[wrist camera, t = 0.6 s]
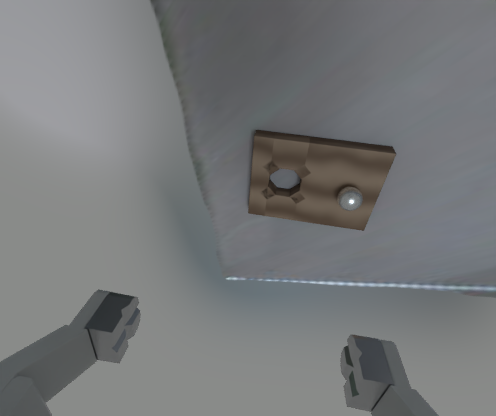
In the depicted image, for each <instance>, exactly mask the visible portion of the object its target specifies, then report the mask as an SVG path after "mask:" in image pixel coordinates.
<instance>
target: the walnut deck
mask: <svg viewBox="0 0 496 416" xmlns="http://www.w3.org/2000/svg"><path fill="white" fill-rule="evenodd" d="M395 156H396V153H395V151H394V149H393V147H390V146H382V145H374V144H366V143H358V142H350V141H342V140H334V139H326V138H318V137H309V136H301V135H293V134H285V133H277V132H269V131H261V130H256V133H255V135H254V146H253V159H252V172H251V184H250V197H249V210H248V213H250V214H256V215H263V216H270V217H276V218H283V219H290V220H296V221H303V222H309V223H316V224H323V225H329V226H336V227H343V228H349V229H356V230H362V231H364V229H365V227H366V224H367V222H368V219H369V217H370V215H371V212H372V210H373V208H374V205H375V203H376V201H377V198H378V196H379V193H380V191H381V189H382V186H383V184H384V182H385V179H386V177H387V175H388V172H389V170H390V168H391V165H392V163H393V160H394V158H395ZM280 168H281V169H289V170H294V171H295V172H296V173H297V175H298V176H299V177H300V178H301V180H300V184H298V185H296V186H294V187H293V188H291V189H284V188H277V187H276V186H275V184H274V183H273V182H272V181H271V180H270V175H271V174H272V173H274V172H275V171H277V170H278V169H280ZM346 187H355V188H357V189H358V190H359V191H360V192H361V193H362V196H363V201H362V204H361V205H360V207H359V208H357V209H356V210H353V211H347V210H344V209H342V208H341V207H340V206H339V204H338V201H337V197H338V194H339V192H340V191H341V190H342V189H344V188H346Z"/></svg>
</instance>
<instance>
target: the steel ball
mask: <svg viewBox="0 0 496 416" xmlns="http://www.w3.org/2000/svg"><path fill="white" fill-rule="evenodd" d="M337 201H338V204H339V206H340V207H341V208H342V209H344V210H347V211H353V210H356V209H357V208H359V207H360V205H361V204H362V201H363V196H362V193H361V192H360V191H359V190H358V189H357V188H355V187H346V188H344V189H342V190H341V191H340V192H339V194H338V197H337Z"/></svg>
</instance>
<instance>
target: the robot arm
mask: <svg viewBox="0 0 496 416" xmlns="http://www.w3.org/2000/svg"><path fill="white" fill-rule="evenodd" d="M138 303H139V302H138V298H137V297H134V296H129V295H123V294H118V293H113V292H109V291H103V290H97V291H96V292H95V293H94V294H93V295H92V296H91V298H90V299H89V300H88V301H87V303H86V304H85V305H84V307H83V308H82V309H81V311H80V312H79V313H78V315H77V316H76V317H75V318H74V320H73V321H72V322H71V324H70V325H69V326H68V325H64V326H63V327H61V328H59V329H57V330H56V331H54V332H52V333H50V334H48V335H47V336H45V337H43V338H42V339H40V340H38V341H36V342H34V343H33V344H31V345H29V346H27V347H26V348H24V349H22V350H20V351H18V352H17V353H15V354H13V355H11V356H10V357H8V358H6V359H4V360H3V361H1V362H0V416H52V414H51V412H50V410H49V409H48V407H47V405H46V402H47V401H49V400H50V399H51V398H52V397H53V396H55V395H56V394H57V393H58V392H60V391H61V390H62V389H63V388H65V387H66V386H67V385H68V384H69V383H71V382H72V381H73V380H74V379H76V378H77V377H78V376H79V375H81V374H82V373H83V372H84V371H85V370H87V369H88V368H89V367H90V366H91V365H93V364H94V363H95V362H96V361H97V360H103V361H109V362H114V363H120V361H121V359H122V357H123V356H124V354H125V352H126V350H127V348H128V342H127V340H128V339H130V338H131V337H133V336H134V334H135V332H136V330H137V328H138V325H139V322H140V310H139V309H138V308H137V305H138ZM341 372H342V375H343V376H344V378H345V379H346V380H347V381H346V383H345V385H344V391H345V398H346V404H347V407H352V408H356V409H361V410H366V411H370V412H371V414H372V416H438V414H436V412H435V411H434V410H433V409H432V408H431V407H430V405H429V404H428V403H427V402H426V401H425V400H424V399H423V398H422V396H421V395H420V394H419V393H418V392H417V391H416V390H414V389H411V387H410V384H409V381H408V378H407V375H406V373H405V370H404V367H403V364H402V361H401V358H400V356H399V353H398V350H397V347H396V345H395V344H394V342H391V341H385V340H379V339H375V338H370V337H363V336H357V335H350V336H349V338H348V346H346V347H344V349H343V351H342V353H341Z"/></svg>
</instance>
